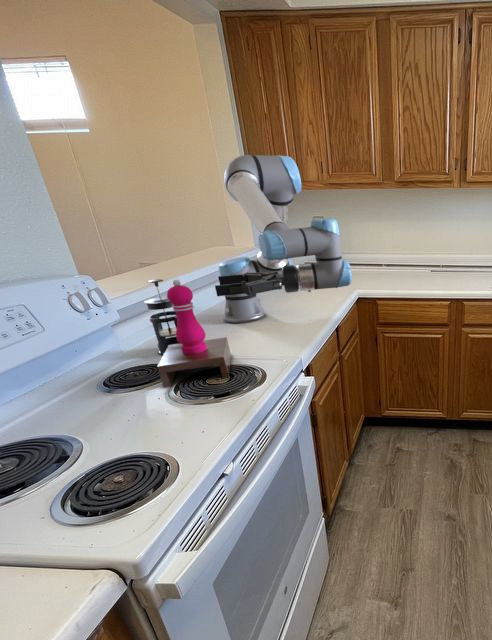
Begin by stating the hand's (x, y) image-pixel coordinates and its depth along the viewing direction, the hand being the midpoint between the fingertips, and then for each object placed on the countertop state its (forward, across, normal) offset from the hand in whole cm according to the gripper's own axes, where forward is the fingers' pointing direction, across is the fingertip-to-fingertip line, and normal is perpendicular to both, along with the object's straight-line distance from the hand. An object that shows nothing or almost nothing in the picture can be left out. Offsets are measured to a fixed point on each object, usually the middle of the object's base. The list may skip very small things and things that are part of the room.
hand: (217, 285), depth 114 cm
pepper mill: (+10, 0, -18) cm, 20 cm away
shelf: (+10, 0, -23) cm, 25 cm away
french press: (+19, +22, -24) cm, 37 cm away
